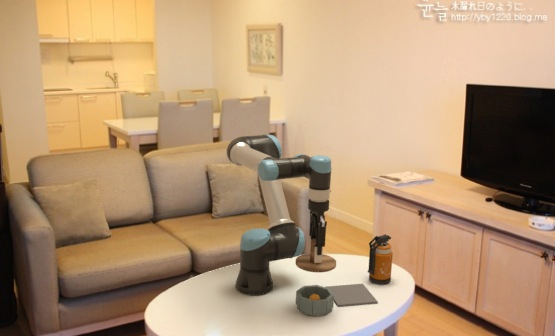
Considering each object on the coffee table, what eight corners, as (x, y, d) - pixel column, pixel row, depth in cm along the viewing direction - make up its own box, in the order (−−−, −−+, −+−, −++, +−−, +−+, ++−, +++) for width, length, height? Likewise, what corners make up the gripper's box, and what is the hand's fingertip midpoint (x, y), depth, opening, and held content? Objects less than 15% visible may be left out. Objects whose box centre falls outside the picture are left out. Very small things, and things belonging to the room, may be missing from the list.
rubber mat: (325, 288, 227) (325, 286, 227) (362, 285, 231) (362, 283, 231) (337, 306, 212) (338, 305, 212) (377, 303, 216) (377, 301, 216)
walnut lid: (291, 257, 213) (292, 234, 211) (329, 254, 216) (330, 232, 214) (301, 273, 199) (302, 250, 196) (341, 270, 202) (343, 247, 200)
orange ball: (307, 303, 213) (307, 292, 212) (318, 302, 214) (318, 291, 212) (310, 308, 208) (310, 297, 207) (321, 307, 209) (322, 296, 208)
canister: (395, 281, 235) (398, 236, 230) (375, 288, 229) (379, 241, 224) (379, 274, 242) (383, 230, 237) (360, 279, 236) (363, 235, 231)
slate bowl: (293, 301, 216) (293, 286, 215) (325, 298, 219) (326, 284, 217) (302, 317, 204) (302, 302, 202) (336, 314, 206) (337, 299, 205)
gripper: (336, 206, 194) (333, 268, 200) (321, 191, 210) (318, 249, 216) (315, 207, 192) (312, 270, 198) (302, 192, 209) (300, 251, 214)
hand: (316, 259), depth 207 cm, fingers closed on walnut lid, 4 cm apart
